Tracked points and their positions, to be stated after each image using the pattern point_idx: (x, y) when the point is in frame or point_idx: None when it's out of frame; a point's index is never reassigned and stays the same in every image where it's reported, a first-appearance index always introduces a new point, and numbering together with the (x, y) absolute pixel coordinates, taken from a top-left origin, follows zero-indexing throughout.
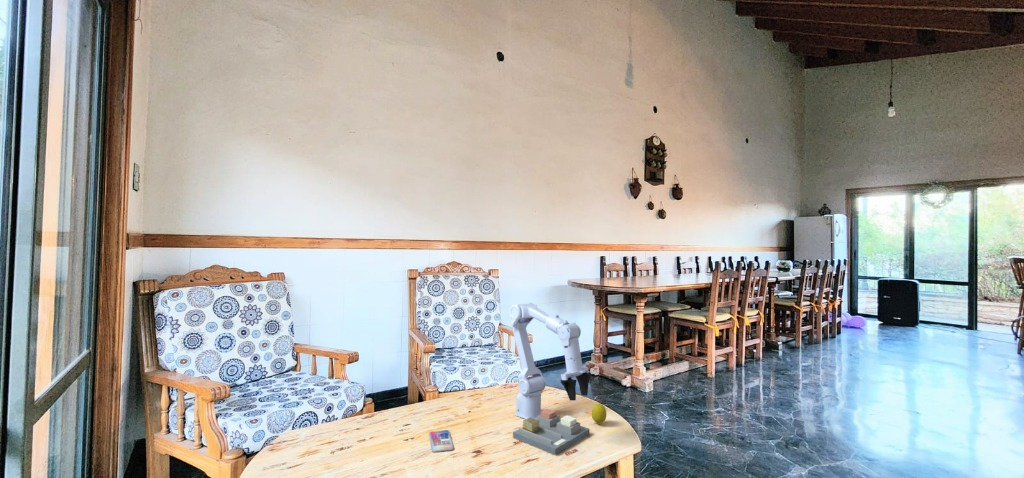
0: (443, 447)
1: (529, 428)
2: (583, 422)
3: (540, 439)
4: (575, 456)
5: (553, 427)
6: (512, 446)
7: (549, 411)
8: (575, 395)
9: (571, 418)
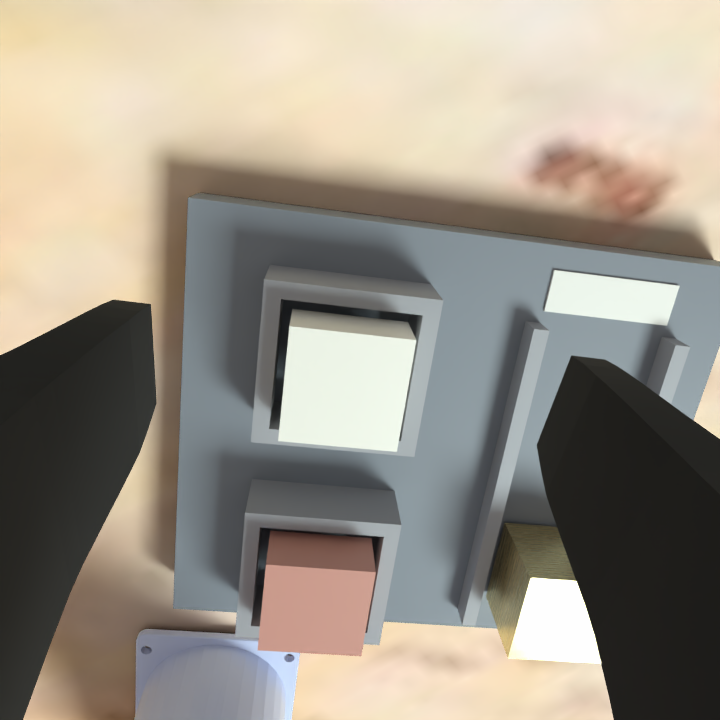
0: None
1: None
2: (5, 348)
3: None
4: (661, 111)
5: (377, 468)
6: None
7: (304, 606)
8: (626, 394)
9: (324, 369)
